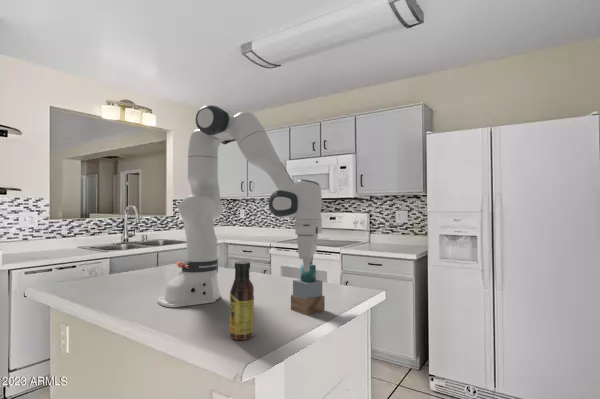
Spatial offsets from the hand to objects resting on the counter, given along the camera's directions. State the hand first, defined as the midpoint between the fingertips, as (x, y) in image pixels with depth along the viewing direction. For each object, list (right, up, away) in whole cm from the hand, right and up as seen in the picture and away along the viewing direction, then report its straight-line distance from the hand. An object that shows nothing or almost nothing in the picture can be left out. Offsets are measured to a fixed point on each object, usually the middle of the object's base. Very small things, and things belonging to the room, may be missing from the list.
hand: (308, 269), depth 119 cm
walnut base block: (0, -14, 0) cm, 14 cm away
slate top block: (0, -9, 0) cm, 9 cm away
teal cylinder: (0, -4, 0) cm, 4 cm away
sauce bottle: (-18, -13, -25) cm, 34 cm away
